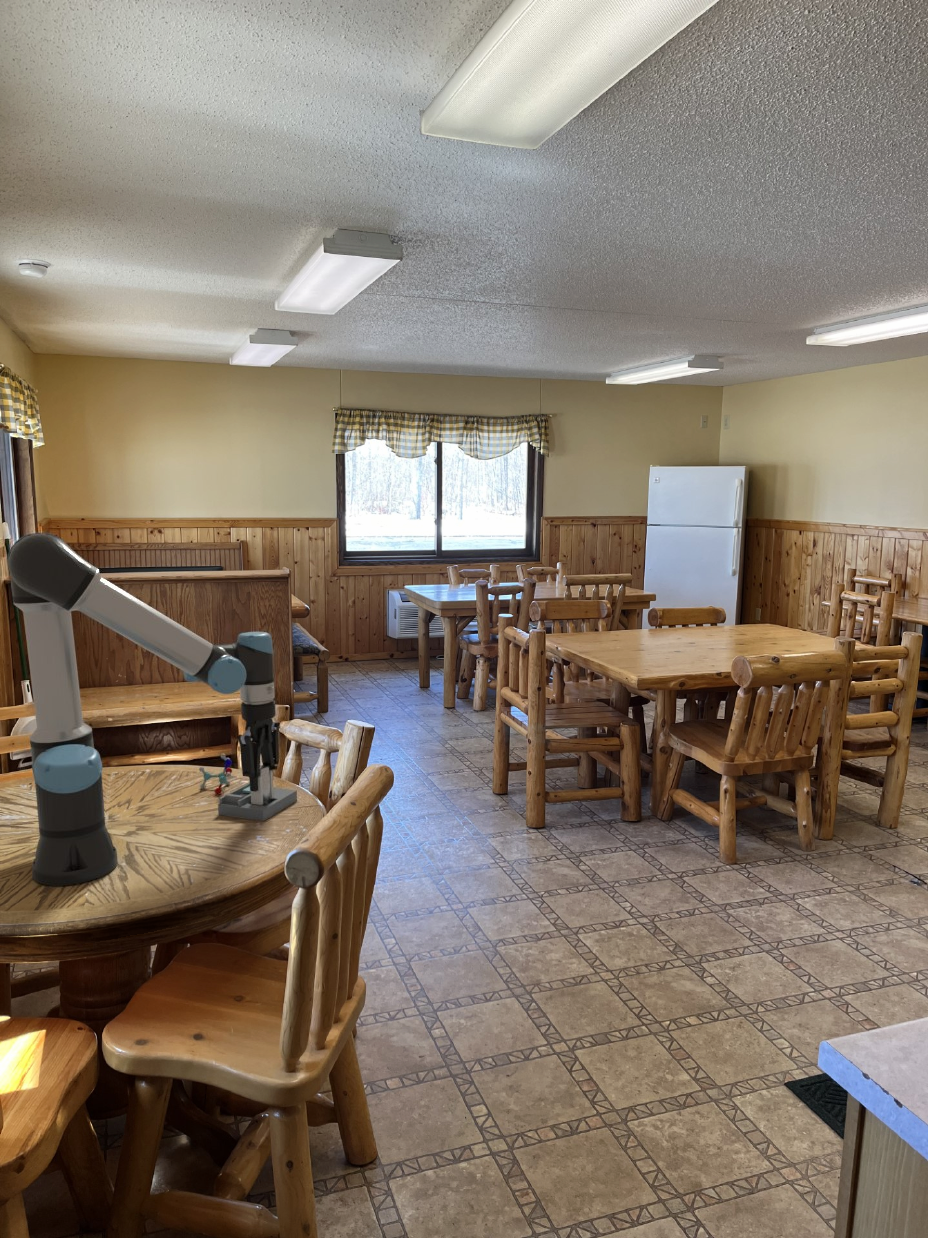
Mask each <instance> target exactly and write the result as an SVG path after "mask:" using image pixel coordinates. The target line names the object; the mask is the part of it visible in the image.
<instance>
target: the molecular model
mask: <svg viewBox="0 0 928 1238" xmlns="http://www.w3.org/2000/svg"><path fill="white" fill-rule="evenodd" d="M226 756H227V754H225V753H221V755H220V758H221V759H223V760H224V764H225V766H224V768H223V770H222V772H219V774H211V773H210V771H208V770H206V771H205V767H204V766H200V767H199V768H198V771H199V772H201V773H202V774H203V775H202V777H203V779H204V780H203V781H202V783H201V784H200V785H199V787H200V789H202V790H203V789H205V788H206V783H207V781H209V780H210V779H211V778H218V782H219V784H218V785H219V786H218V787H216V788H215V789H214V794H216V795H220V794H222V791H223V790H222V787H223V784H225V786H230V784H231V781H230V780H228V779H229V778H231V776H232V773H233V769H232V768H231V767H230V766H231V765H232V764H233V761H232V760H231V758H229V757H226ZM227 778H228V779H227Z"/></svg>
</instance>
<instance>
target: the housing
mask: <svg viewBox="0 0 928 1238" xmlns="http://www.w3.org/2000/svg"><path fill="white" fill-rule="evenodd" d="M249 786H250V781H249V782H248V783H246V784H244V785H241V786H240V787H238V788H235V789H234V790H233V791H230V792H229V793H226V794H224V795H223V796H221V797H218V800H219V801H218V802H219V803H218V804H217V808H218V809H217V811H218V816H226V817H234V818H239V819H245V820H246V819H248V820H254V821H261V822H264V821H266V820H267V819H269V818H272V817H273V816H274V815H276V814H278V813H279V812H280V811H283V810H284V809H285V808H288V807H289V806H291V805H292V804H294V803H296V802H297V801H298V791H297V789H287V788H282V787H281V788H280V787H274V786H273V790H274V798H273V799H270V801H271V803H270V804H268V805H267V806H262V805H255V804H251V794H250V793H243V790H244V789H246V788H247V787H249Z"/></svg>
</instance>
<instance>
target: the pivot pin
mask: <svg viewBox="0 0 928 1238" xmlns="http://www.w3.org/2000/svg"><path fill="white" fill-rule="evenodd" d="M259 776H262V787H263V804H262V806H267V805H268V804H270V803H271V801H270V778H269V766H267V765H263V764H260V775H259ZM255 805H258V804H255Z"/></svg>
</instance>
